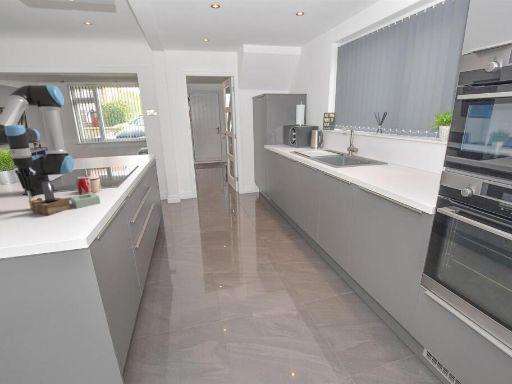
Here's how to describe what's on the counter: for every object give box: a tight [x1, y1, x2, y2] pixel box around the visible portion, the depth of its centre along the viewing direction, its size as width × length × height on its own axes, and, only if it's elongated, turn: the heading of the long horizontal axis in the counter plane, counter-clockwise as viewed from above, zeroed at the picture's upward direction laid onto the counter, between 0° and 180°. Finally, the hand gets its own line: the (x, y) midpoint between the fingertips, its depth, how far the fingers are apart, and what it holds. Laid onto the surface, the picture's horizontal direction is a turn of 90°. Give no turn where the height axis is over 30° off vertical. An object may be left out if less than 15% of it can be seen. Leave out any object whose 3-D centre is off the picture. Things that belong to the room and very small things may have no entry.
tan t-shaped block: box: [28, 197, 43, 210], centre depth 139 cm, size 9×5×4 cm, turn 71°
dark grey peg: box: [41, 180, 56, 204], centre depth 135 cm, size 4×4×15 cm
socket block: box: [32, 196, 72, 216], centre depth 137 cm, size 11×11×5 cm
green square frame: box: [70, 193, 101, 209], centre depth 147 cm, size 11×11×4 cm
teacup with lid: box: [87, 172, 102, 194], centre depth 172 cm, size 12×9×12 cm
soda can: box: [75, 175, 93, 195], centre depth 159 cm, size 7×7×12 cm
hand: (33, 202), depth 141 cm, fingers closed
